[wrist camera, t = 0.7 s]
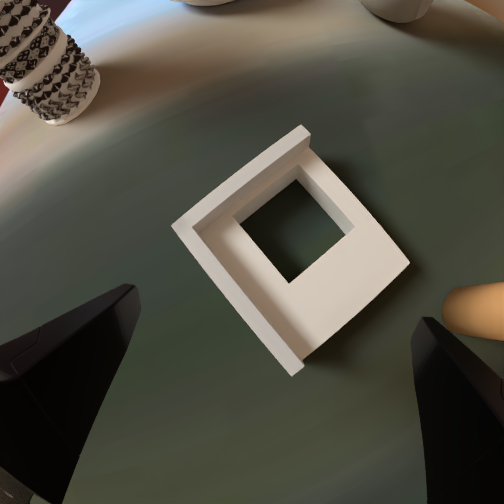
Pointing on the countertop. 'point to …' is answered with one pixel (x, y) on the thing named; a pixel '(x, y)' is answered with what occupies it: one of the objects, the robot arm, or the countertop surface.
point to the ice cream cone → (476, 311)
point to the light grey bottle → (398, 9)
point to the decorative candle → (44, 63)
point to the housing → (262, 270)
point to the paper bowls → (204, 2)
